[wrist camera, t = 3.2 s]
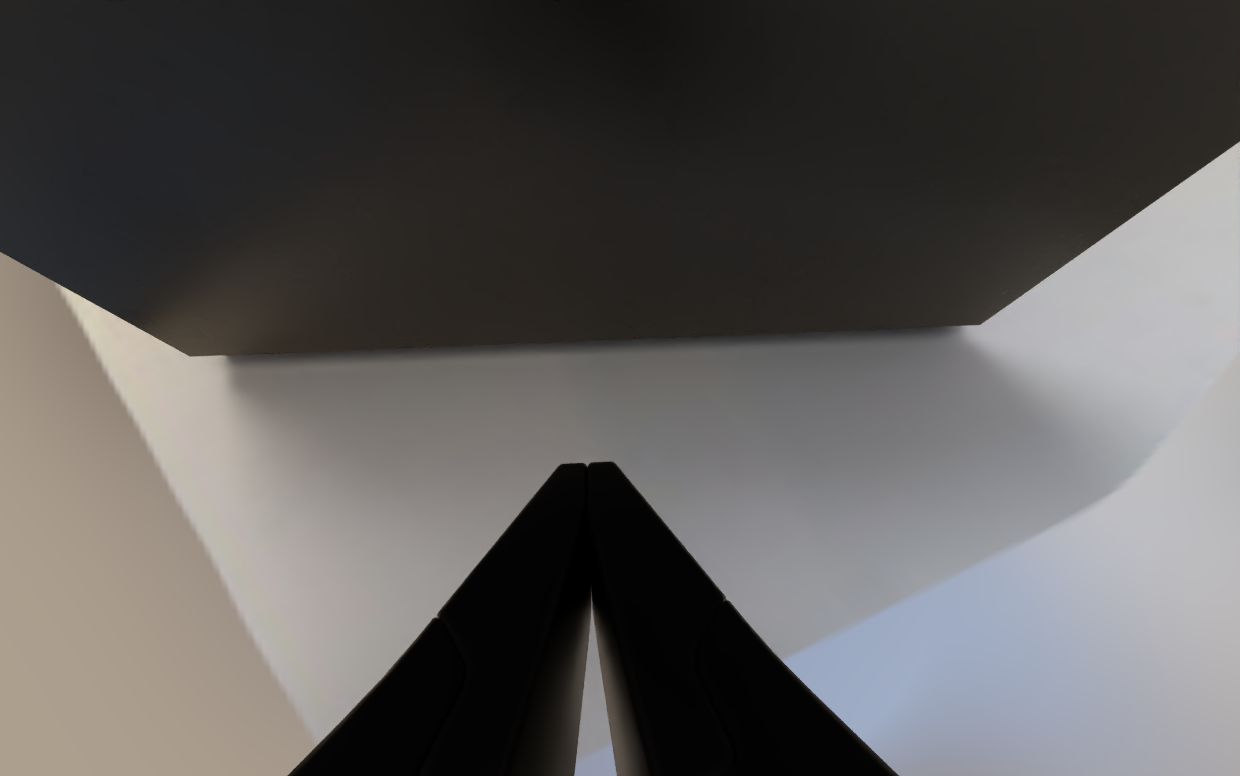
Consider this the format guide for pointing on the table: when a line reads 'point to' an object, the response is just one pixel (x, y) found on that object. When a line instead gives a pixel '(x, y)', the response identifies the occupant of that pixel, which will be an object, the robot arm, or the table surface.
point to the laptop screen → (587, 160)
